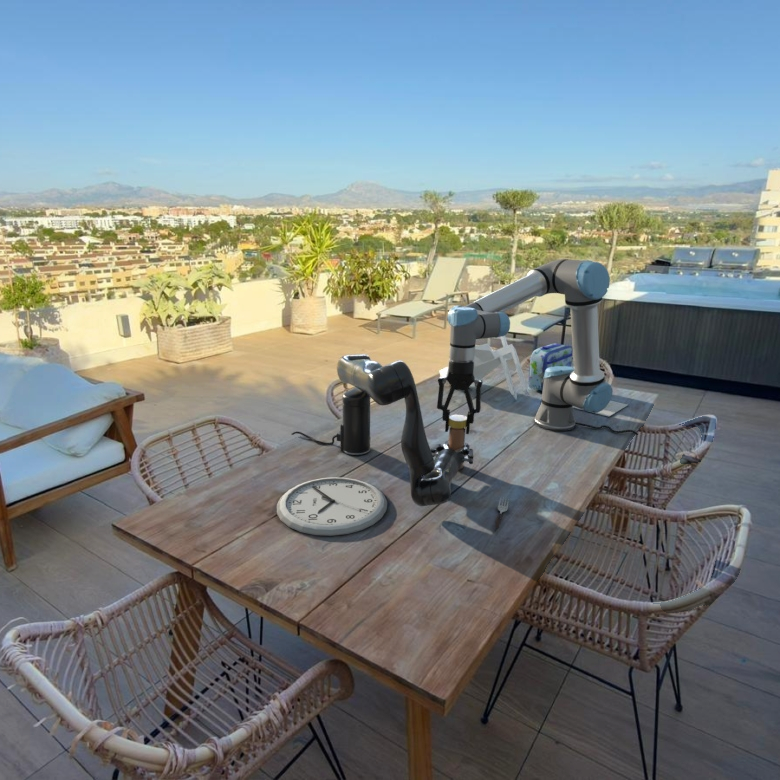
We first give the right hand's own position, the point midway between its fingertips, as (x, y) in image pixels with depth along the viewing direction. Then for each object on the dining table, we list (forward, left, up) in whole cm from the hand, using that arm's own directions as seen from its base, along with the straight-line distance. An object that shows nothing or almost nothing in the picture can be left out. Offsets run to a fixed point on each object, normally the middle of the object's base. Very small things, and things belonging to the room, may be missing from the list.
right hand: (457, 431), depth 164 cm
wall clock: (+33, +30, -12) cm, 46 cm away
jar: (0, 0, -12) cm, 12 cm away
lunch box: (-45, -94, -12) cm, 105 cm away
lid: (0, 0, +4) cm, 4 cm away
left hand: (0, -3, -6) cm, 6 cm away
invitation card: (-63, -69, -12) cm, 94 cm away
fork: (-12, +30, -12) cm, 34 cm away
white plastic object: (-11, -81, -12) cm, 83 cm away
